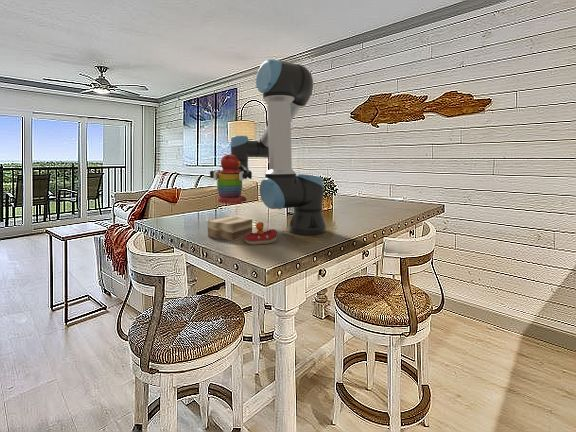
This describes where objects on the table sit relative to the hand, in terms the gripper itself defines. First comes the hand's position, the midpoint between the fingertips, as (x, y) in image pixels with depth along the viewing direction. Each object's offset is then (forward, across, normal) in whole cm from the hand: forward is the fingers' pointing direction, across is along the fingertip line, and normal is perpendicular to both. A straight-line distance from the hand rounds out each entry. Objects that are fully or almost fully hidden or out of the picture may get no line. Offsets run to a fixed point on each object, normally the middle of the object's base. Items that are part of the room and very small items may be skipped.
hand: (227, 176), depth 130 cm
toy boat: (+6, -12, -23) cm, 27 cm away
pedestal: (-4, 0, -23) cm, 24 cm away
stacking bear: (-5, 0, -10) cm, 11 cm away
